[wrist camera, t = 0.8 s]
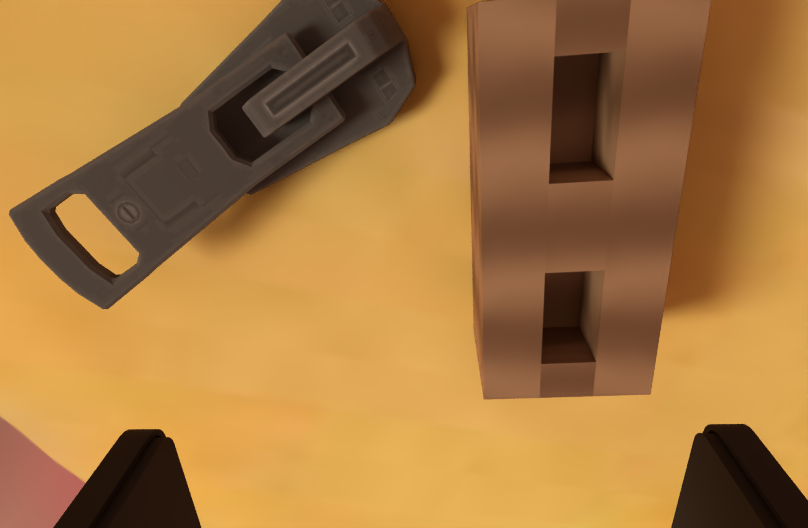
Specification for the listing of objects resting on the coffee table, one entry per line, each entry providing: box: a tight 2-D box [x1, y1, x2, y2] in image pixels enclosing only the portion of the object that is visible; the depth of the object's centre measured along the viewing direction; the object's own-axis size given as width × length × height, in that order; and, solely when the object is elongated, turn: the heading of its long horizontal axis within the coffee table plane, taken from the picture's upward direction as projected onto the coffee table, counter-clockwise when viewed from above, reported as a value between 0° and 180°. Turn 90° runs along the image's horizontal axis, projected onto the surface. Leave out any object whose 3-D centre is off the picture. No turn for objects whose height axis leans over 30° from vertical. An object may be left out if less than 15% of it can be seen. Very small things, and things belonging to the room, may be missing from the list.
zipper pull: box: [9, 0, 416, 309], centre depth 31 cm, size 9×7×25 cm
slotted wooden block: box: [467, 0, 711, 399], centre depth 31 cm, size 22×10×8 cm, turn 4°
